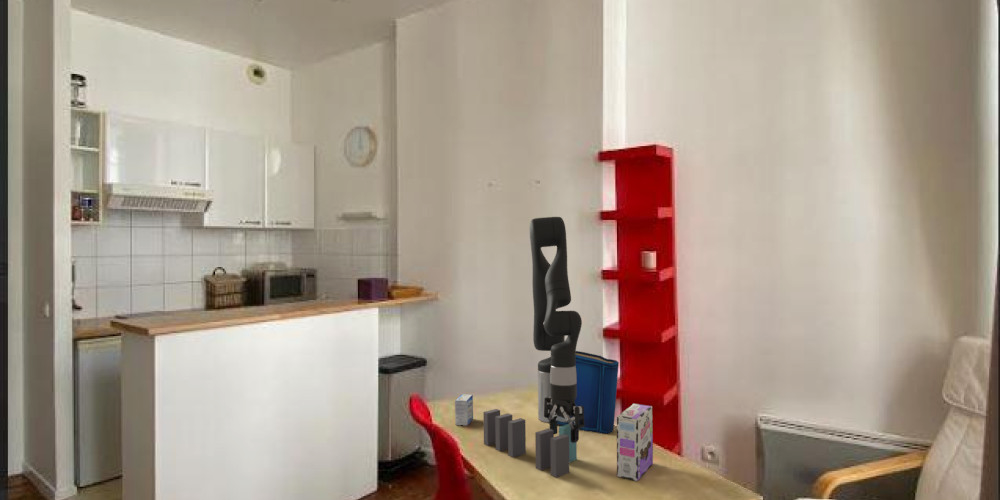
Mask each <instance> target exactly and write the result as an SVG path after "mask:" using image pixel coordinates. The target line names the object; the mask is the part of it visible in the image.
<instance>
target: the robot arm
mask: <svg viewBox="0 0 1000 500" xmlns="http://www.w3.org/2000/svg"><path fill="white" fill-rule="evenodd" d="M529 241H530V249H531V261H532V262H531V263H532V266H531V267H532V281H531V282H532V284H531V285H532V299H533V300H532V301H533V335H532V336H533V337H532V338H533V346H534V348H535V350H537V351H540V352H541V351H542V352H545V351H546V352H550V356H549V357H547V358H544V359H541V360H540V361H539V362H538V363H537V409H538V411H537V415H538V421H540V422H543V423H549V429H552V430H554V435H557V434H558V424H557V421H556V420H557V418H558V417H562V418H565V419H566V421H567V422H568V423H569V425H570V427H571V442H572V443H575V442H577V443H578V442H579V439H580V435H579V434H580V430H579V429H580V428H583V427H585V422H584V407H583V406H576V405H575V399H576V397H577V373H576V351H577V345H578V340H579V336H580V333H581V329H582V324H583V322H582V317H581V315H580V313H579V312H578V311H576V310H558V309H560V308H563V307H566V306H569V304H571V302H572V295H571V288H570V281H569V275H568V273H569V272H568V246H567V243H568V242H567V230H566V224H565V222H564V219H563V218H562V217H560V216H548V217H547V216H546V217H536V218H533V219H531V221H530V223H529ZM546 247H547V248H548V247H550V248H551V247H556V251H555V256H554V258H553V260H552V262H551V264H550V262H549V261H548V259H547V258H546V257H545V255H544V253H543V251H542V248H546ZM566 336H567V337H566ZM565 338H566V339H565ZM571 416H573V417H572V418H570V417H571ZM579 420H580V424H579ZM572 421H574V423H575V425H574V424H573V422H572Z"/></svg>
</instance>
